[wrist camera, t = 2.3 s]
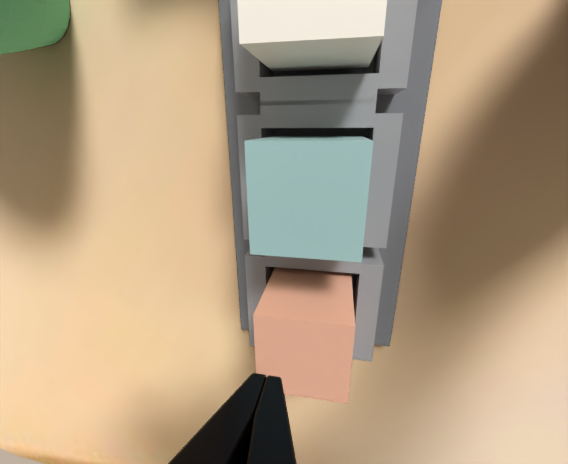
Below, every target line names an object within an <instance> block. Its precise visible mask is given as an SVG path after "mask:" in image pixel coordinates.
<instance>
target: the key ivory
mask: <svg viewBox="0 0 568 464" xmlns="http://www.w3.org/2000/svg"><path fill="white" fill-rule="evenodd" d="M237 5H238V25H239V44H240V45H241V46H243V47H244V48H245V49H246V50H247V51H249V52H250V53H251V54H252V55H254V56H255V57H256V58H257V59H258V60H260V61H261V62H262V63H263V64H265V65H266V66H267V67H268V68H269V69H271V70H272V71H286V70H312V69H338V68H364V67H369V65H370V63H371V61H372V59H373V57H374V55H375V53H376V51H377V49H378V47H379V45H380V42H381V40H382V38H383V36H384V28H385V18H386V8H387V0H237Z"/></svg>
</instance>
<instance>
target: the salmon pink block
mask: <svg viewBox="0 0 568 464" xmlns="http://www.w3.org/2000/svg"><path fill="white" fill-rule="evenodd" d="M253 323H254V343H255V363H256V373H259V374H265V375H266V376H268V375H271V376H278V377H281V379H282V384H283V390H284V394H288V395H294V396H301V397H307V398H314V399H320V400H327V401H333V402H340V403H346V404H348V398H349V387H350V377H351V367H352V357H353V346H354V336H355V314H354V302H353V289H352V277H351V273H343V272H331V271H318V270H305V269H293V268H280V267H275V268H274V270H273V272H272V275H271V277H270V279H269V281H268V283H267V286H266V288H265V290H264V292H263V294H262V297H261V299H260V301H259V303H258V305H257V308H256V310H255V312H254V314H253Z"/></svg>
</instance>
